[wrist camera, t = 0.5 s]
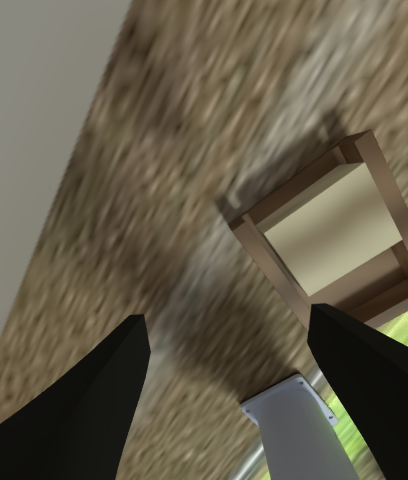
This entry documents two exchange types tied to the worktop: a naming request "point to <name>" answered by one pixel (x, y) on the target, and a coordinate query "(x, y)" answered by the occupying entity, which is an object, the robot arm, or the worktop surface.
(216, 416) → the worktop surface
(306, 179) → the walnut box
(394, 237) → the beige rectangular block
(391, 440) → the robot arm
